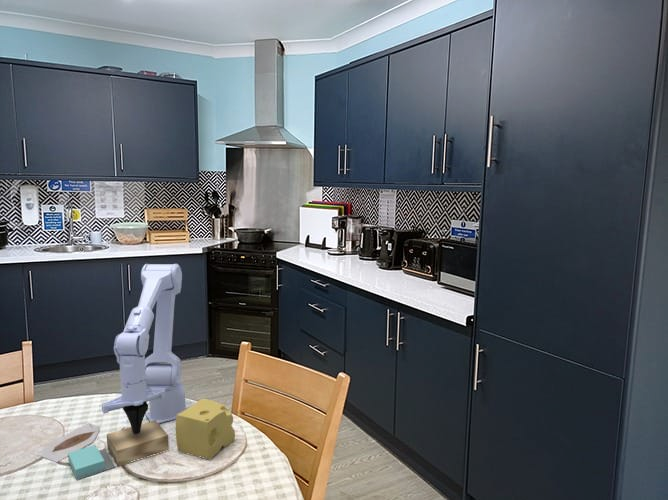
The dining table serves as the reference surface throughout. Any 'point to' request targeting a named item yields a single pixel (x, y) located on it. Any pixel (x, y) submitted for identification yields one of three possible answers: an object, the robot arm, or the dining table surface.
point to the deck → (137, 443)
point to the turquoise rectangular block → (86, 461)
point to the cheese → (204, 429)
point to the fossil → (70, 443)
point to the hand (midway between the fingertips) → (136, 432)
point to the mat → (108, 464)
